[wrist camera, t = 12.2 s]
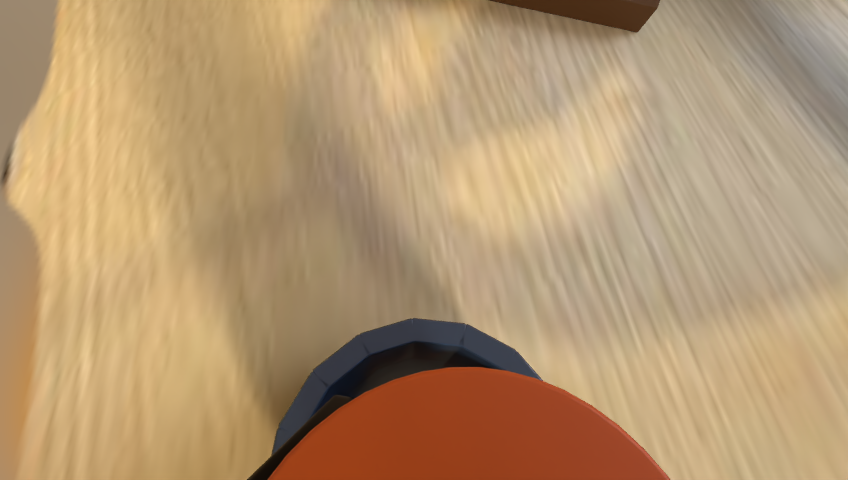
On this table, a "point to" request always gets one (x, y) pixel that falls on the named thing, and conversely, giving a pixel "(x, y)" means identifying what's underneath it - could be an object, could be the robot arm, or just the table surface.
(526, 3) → the pan flute
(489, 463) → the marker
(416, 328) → the pen cup
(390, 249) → the table surface
